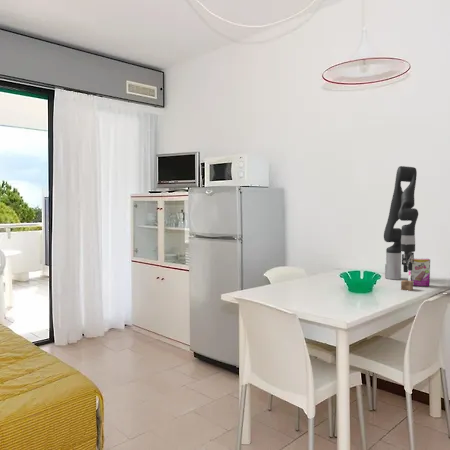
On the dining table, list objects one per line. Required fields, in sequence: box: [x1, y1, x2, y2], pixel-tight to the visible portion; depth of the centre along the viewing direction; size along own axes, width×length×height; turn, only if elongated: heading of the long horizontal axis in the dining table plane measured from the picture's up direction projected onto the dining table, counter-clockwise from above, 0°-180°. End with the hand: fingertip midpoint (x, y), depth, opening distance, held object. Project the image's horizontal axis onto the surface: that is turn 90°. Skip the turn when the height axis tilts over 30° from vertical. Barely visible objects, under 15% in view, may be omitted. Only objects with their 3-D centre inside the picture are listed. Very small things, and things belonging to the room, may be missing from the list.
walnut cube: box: [400, 279, 414, 292], centre depth 242 cm, size 5×5×5 cm
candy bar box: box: [407, 257, 431, 287], centre depth 252 cm, size 11×5×16 cm, turn 84°
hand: (407, 271), depth 241 cm, fingers open, 8 cm apart
